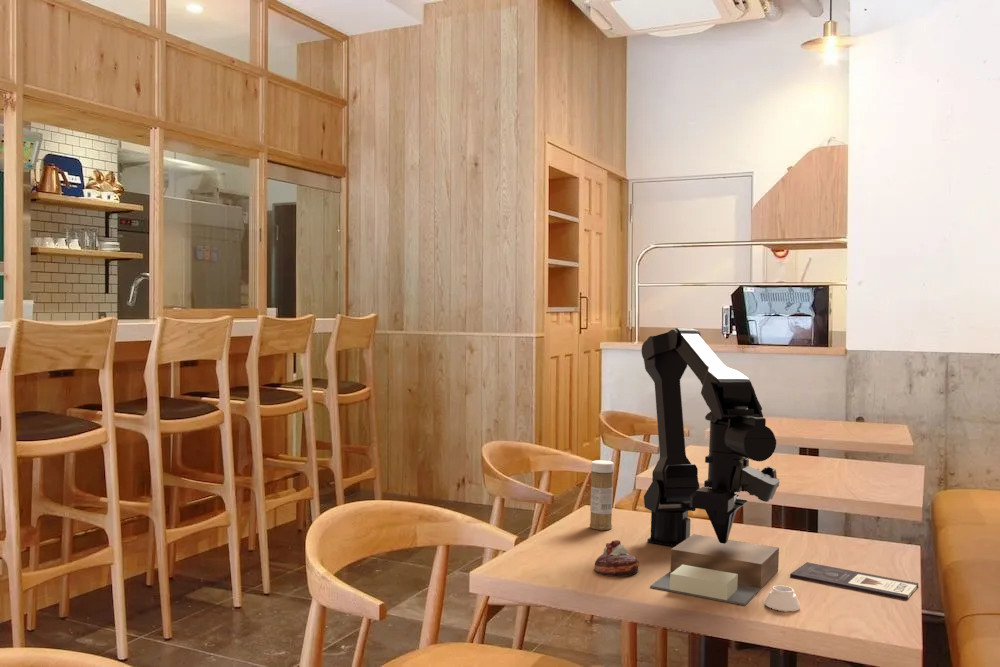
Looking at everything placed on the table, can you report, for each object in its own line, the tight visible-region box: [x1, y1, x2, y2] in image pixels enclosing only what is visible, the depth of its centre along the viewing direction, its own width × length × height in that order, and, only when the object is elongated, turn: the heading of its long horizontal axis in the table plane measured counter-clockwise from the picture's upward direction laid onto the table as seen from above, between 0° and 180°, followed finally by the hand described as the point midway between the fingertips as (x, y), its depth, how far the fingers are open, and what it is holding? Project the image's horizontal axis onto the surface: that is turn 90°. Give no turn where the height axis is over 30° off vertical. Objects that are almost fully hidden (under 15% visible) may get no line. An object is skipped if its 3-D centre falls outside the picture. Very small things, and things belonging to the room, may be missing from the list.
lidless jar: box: [764, 585, 801, 613], centre depth 132 cm, size 5×3×5 cm
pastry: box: [593, 539, 640, 577], centre depth 149 cm, size 8×8×5 cm
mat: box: [649, 571, 761, 606], centre depth 140 cm, size 15×9×1 cm, turn 60°
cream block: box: [670, 565, 738, 600], centre depth 138 cm, size 9×6×2 cm, turn 60°
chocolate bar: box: [789, 561, 919, 601], centre depth 146 cm, size 9×1×18 cm
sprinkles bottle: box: [589, 459, 615, 531], centre depth 177 cm, size 5×5×14 cm
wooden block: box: [669, 533, 780, 590], centre depth 149 cm, size 15×12×4 cm
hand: (723, 542), depth 148 cm, fingers closed
